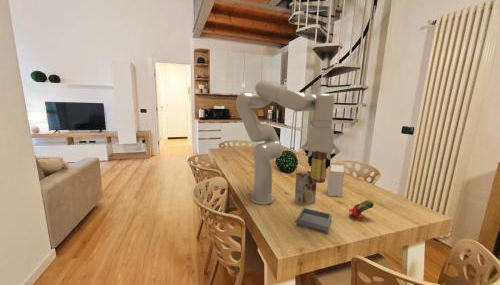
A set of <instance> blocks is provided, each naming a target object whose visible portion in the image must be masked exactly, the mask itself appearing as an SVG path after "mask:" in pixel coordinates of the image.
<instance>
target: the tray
mask: <svg viewBox="0 0 500 285" xmlns="http://www.w3.org/2000/svg"><path fill="white" fill-rule="evenodd" d="M331 222H332V214H331V213H328V212H323V211H320V210H316V209H311V208H306V207H302V209H301V211H300V213H299V215H298V216H297V218H296V223H295V224H296V226H298V227H301V228H304V229H309V230H312V231H315V232H316V231H317V232H320V233H323V234H326V235H327V234H328V233H329V229H330V225H331Z"/></svg>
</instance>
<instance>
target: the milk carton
mask: <svg viewBox="0 0 500 285" xmlns="http://www.w3.org/2000/svg"><path fill="white" fill-rule="evenodd" d="M344 177H345V167H344V163H342V162H341V163H339V162H330V167H329V166H328V176H327V188H326V191H327V194H328V196H330V197H340V198H342V197H343V196H342V195H343V186H344V179H345V178H344Z"/></svg>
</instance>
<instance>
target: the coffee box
mask: <svg viewBox="0 0 500 285" xmlns="http://www.w3.org/2000/svg"><path fill="white" fill-rule="evenodd" d="M294 191H295V192H294V193H295V194H294V202H295V203H297V204H299V205H301V206H306V205H310V204H315V203H316V191H317V183H315V182H313V181H312V180H311V170H308V171H302V172H296V174H295V187H294Z"/></svg>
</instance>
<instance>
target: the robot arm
mask: <svg viewBox="0 0 500 285" xmlns="http://www.w3.org/2000/svg"><path fill="white" fill-rule="evenodd" d="M254 90H255V92H254V91H244V92H240V93H239V94H238V96H237V97H236V100H235V108H236V111H237V113H238V116H239V117H240V119H241V121H242V123H243V126H244V129H245V131H246V133H247V136H248V138H249V139H250V141H251V142H252V143H258V144H256V145H255V146H254V147H253V150H252V156H253V161H254V176H253V177H254V181H253V182H254V184H253V189H250V188H249V189H247V194H248V195H251V197H250V201H251V202H252V203H254V204H257V205H259V206H260V205H261V206H262V205H265V206H266V205H270V204H273V203H274V201H275V197H274V196H273V195H272V188H273V187H272V186H273V166H272V162H271V160H274V159H278V158H280V157H281V156H282V155H283V152H284V150H283V145H282V143H281V140H280V137H279V136H278V134H277V132H276V129H275V128H274V127H273V126H272V125H271V124H268V123H261V121H260V119H259V117H258V116H257V113H255V111H253V110H252V109H260V108H261V109H262V108H264V107H266V106H267V105H269V104H271V103H272V102H274V103H277V104H278V105H280V106H281V107H283V108H284V109H285V108H286V109H289V110H291V111H295V112H313V115H312V120H310V121H308V124H309V125H311V126H310V128H309V132H308V135H307V136H308V137H307V142H305V143H304V144H303V145H302V146H301V147H300V148H301V149H302V151H303V152H304V153H305V155H307V157H308V158H307V164H308V167H311V160H312V152H316V151H319V152H323V153H326V154H327V160H326V170H327V169H328V170H329V167H330V164H331V159H333V158H334V157H336V156H337V155H338V154H340V153H341V150H340V149H339V147H338V146H336V144H335V143H334V142H335V140H334V139H335V134H334V133H335V132H334V128H333V117H334V107H335V95H334V94H331V93H318V94H316V93H309V92H308V93H307V92H306V93H305V92H298V91H295V90H291V89H288V87H287V86H286V85H283V84H279V83H278V82H276V81H272V80H260V81H258V82H257V83H256V84H255V86H254ZM260 142H261V143H260ZM333 150H334V152H333Z"/></svg>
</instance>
